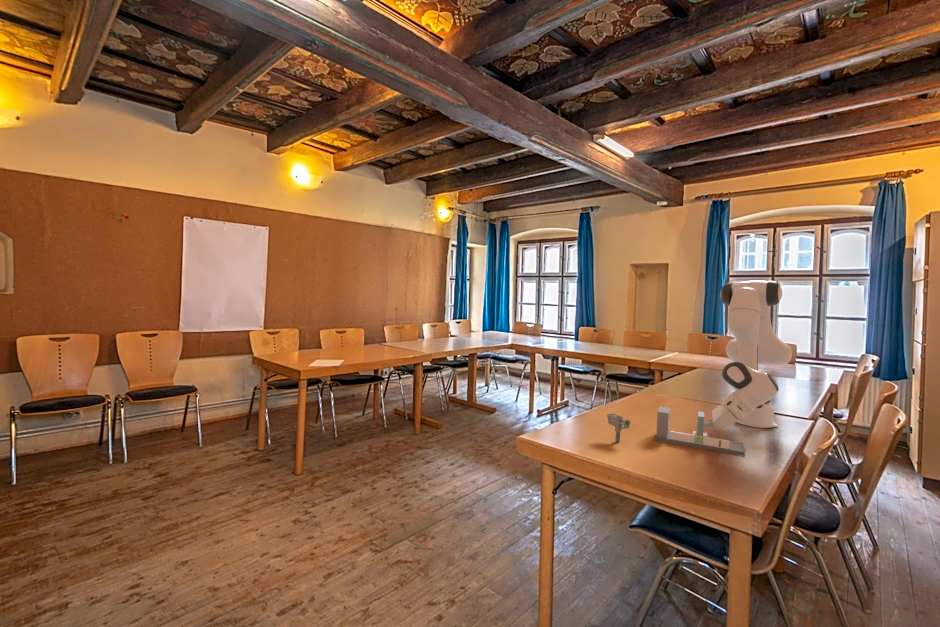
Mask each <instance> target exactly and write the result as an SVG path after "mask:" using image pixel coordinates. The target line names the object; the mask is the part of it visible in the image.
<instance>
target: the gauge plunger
mask: <svg viewBox="0 0 940 627" xmlns="http://www.w3.org/2000/svg"><path fill="white" fill-rule="evenodd" d="M697 414H698V415H697V431H696V430H693V431H692V434H693V435H699V436H705V437H708V432H704V429H705V427H704V424H705V412H703V411H698V412H697Z"/></svg>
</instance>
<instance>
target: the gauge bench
mask: <svg viewBox="0 0 940 627" xmlns="http://www.w3.org/2000/svg"><path fill="white" fill-rule="evenodd" d="M670 417H671V407H668V406H667V407H666V406H659V408H658V409H657V417H656V433H655V441H656V442H661V443H665V444H671V445H677V446H678V445H679V446H683V447H688V448H689V447H690V448H694V449H695V448H696V449H700V450H701V449H702V450H707V451H711V452H717V453H724V454H728V455H729V454H730V455H735V456H739V457H740V456H741V457H745V455H746V451H745V448H744V443H743V442H740V441H733V440H729V439H722V438H716V437H709V436H707V437H705V436H699V435H693V433H686V432H679V431H673V430H670V422H671V421H670V419H671V418H670Z"/></svg>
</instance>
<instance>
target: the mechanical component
mask: <svg viewBox="0 0 940 627" xmlns="http://www.w3.org/2000/svg"><path fill="white" fill-rule="evenodd" d="M606 417H607V423H608V425H609V426H613V427H614V431H615V439H614V440H615V443H616V444H617V443H620V442H621V441H620V440H621V432H623V431H622V430H626V429H630V426H631V421H630V419H623V418H624V417H623V416H620V415H618V414H615V413H607V416H606Z"/></svg>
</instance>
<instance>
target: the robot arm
mask: <svg viewBox="0 0 940 627" xmlns="http://www.w3.org/2000/svg"><path fill="white" fill-rule="evenodd" d="M719 294H720V296H719V297H720V299H721V302H722V304H723V305H724V306H727V307H729V308H728V312H727V324H728V329H729V331H730V332H731V335H732V336H733V337H734V338H732V339H729V341H728V342H727V344H726V346H725V354H726V355H727V356H728V358H729V359H730V360H731V362H729V363H728V364H726V365H725V366H724V367H723V368H722V371H721V376H722V378H723V380H724V382H725V383H726V385H729V386H730V388H733V389H734V392H732V393H730V394H729V395H727V396H726V397H725V398H723V403H721V404H720V405H718V406H717V407H715V408H714V409H712V411H711V415H712V417H711V418H710V419H709V420H707V422H704V429H706V430H707V431H708V430H710V429H711V428H713V427H716V428H717V429H718V431H722V430H724V429H727V428H729V426H733V424H735V423H737V424H740V425H744V426H747V427H751V428H759V429H761V428H762V429H770V428H778V427H779V424H777V423H776V422H774V416H775V414H774V412H775V409H774V407H773V406H771V404H770V403H771V401H772V400H771V399H772V398H774V397H775V396H776V395H777V394H778V392H779V386H778V383H777V382H776V381H775V379H774V378H773V377H772V376H771V374H769V373H768V372H763V371H761V370H760V369H759V365H767V366H785V365H787V364H789V362H790V361H791V360H792V357H793V350H792V348H791V347H790V345H788V344H787V343H786V342H784V341H783V340H782V339H780V338H779V337H778V336H777V334H776V333H775V331H774V329H773V326H772V320H771V307H773V306H777V304H779V303H780V301H781V299H782V297H783V290H782V287H781V285H780V283H779V282H778V281H775V280H768V281H767V280H747V281H745V280H744V281H737V282H733V281H732V282H727V283H725V284H723V286H722V287H721V289H720V293H719Z"/></svg>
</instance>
